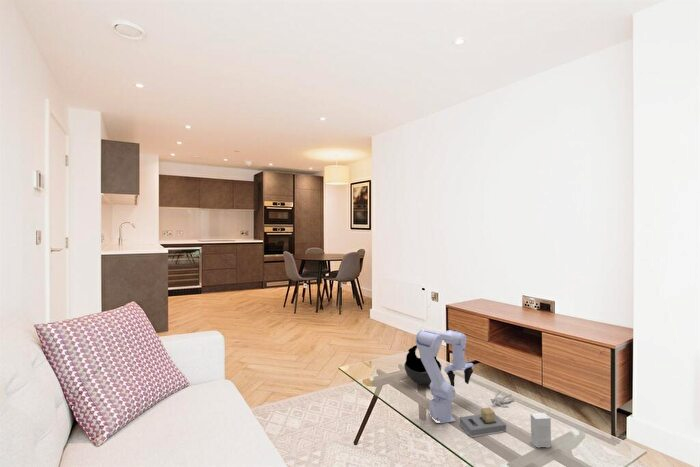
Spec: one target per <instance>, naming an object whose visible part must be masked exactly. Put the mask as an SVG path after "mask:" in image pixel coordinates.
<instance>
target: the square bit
mask: <svg viewBox="0 0 700 467" xmlns="http://www.w3.org/2000/svg"><path fill="white" fill-rule="evenodd" d="M480 414H481V421H482V422H483V423H484V424H485V425H486V424H492V423H495V415H496V413H495V411H494V410H493V409H492V408H491V407H484V408H481V409H480Z"/></svg>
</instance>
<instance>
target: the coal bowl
mask: <svg viewBox="0 0 700 467" xmlns="http://www.w3.org/2000/svg"><path fill="white" fill-rule="evenodd" d="M417 350H418V347H417V345H416V344H415V345H414V346H412V347H410V348H409V349H408V350H407V351H408V352H407V354H406V356H405V360H406V361H405V363H404V365H403V366H404V370H405V373H406V375H407V377H408V378H409V379H410V380H411V381H413V382H414V383H415V384H419V385H422V386H423V385H430V383H431V379H430V377H429V375H428V373H427V371H426V369H425V367H424V365H423V363H422V361H421V358H420V357H418V356H417V354H416V351H417ZM434 358H435V360H436V363H437V365H438V367H439V369H440V371H441V372H442V364H441V363H440V361H439V360H438V358H437V356H435V357H434Z"/></svg>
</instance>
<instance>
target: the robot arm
mask: <svg viewBox="0 0 700 467" xmlns="http://www.w3.org/2000/svg"><path fill="white" fill-rule="evenodd" d="M467 340H468V339H467V335H466V334H465V333H463V332H459V331H458V330H455V331H454V329H448V330H446V331H444V332H442V331H441V332H440V331H436V330H426V329H425V330H421V329H420V330H419V331H417V333H416V334H415V340H414V343H415V345H417V350H418V352H419V356H420V357H419V358H421V361H422V363H423V365H424V367H425V369H426V371H427V373H428V375H429V377H430V379H431V383H430V384H429V388H430V394H431V395H432V396H433V399H431V400H429V402H428V404H429V405H428V406H429V407H428V408H429V414H430V415H431V417H433V418H434V419H435V420H437V421H440V424H445V423H453V422H456V419H455V418H454V417H453V416H452V412H453V411H452V402H453V401H454V399H455V397H456V390H455V378H456V377H455V376H456V374H455V373H454V372H455V371H461V372H462V371H463V374H464V383H466V385H469V384H470V379H471V376H472V375H473V373H474V370H473V369H474V363H473V362H466V350H465V349H466V347H467ZM443 341H444V343H446V344H447V345H448V344H450V345H452V346H451V349H452V364H451V365H448V366H444V372H445V373H446V375H447V377H448V379H449V382H448V381H447V380H445V378H444V376H443V373H442V370H441V371H440V369H439V367H438V365H437V363H436V360H435V358H434V357H435V356H436V357H437V356H438V354H439V350H440V348H441V345H442V344H443V343H442V342H443ZM431 417H430V418H431Z"/></svg>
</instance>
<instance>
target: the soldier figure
mask: <svg viewBox="0 0 700 467" xmlns="http://www.w3.org/2000/svg"><path fill="white" fill-rule="evenodd" d="M500 393H502V390H498V392H497V393H496V394H495V395H494V398H491V399H490V401H491V403H492V404H494V403H496V404H497V405H498V406H499V407H501V408H509V405H504V404H509V403H511V402H514V401H515V398H514V399H506V398H507V397H512V396H513V395H512V393H510V394H505V395H503V396H502V397H500V396H499V394H500ZM498 396H499V397H498Z"/></svg>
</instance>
